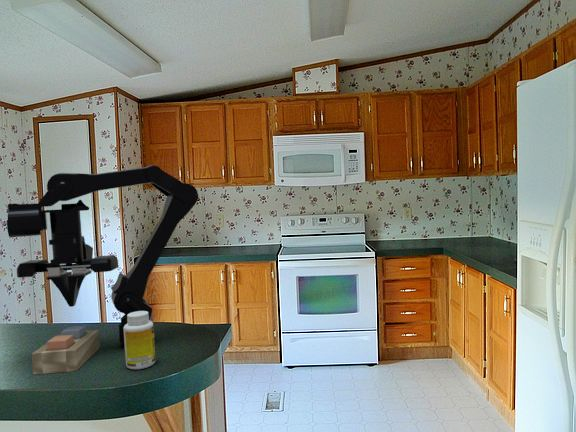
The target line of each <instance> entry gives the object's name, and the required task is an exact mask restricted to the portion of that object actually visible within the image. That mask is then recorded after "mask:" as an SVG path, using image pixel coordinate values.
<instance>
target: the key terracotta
mask: <svg viewBox="0 0 576 432" xmlns="http://www.w3.org/2000/svg"><path fill="white" fill-rule="evenodd" d="M46 343H47V351H52V350H65V349H69V348H70V347H71V346H72V345H74V335H64V336H57V335H54V336H53V337H52V338H50V339H48V341H46Z"/></svg>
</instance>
